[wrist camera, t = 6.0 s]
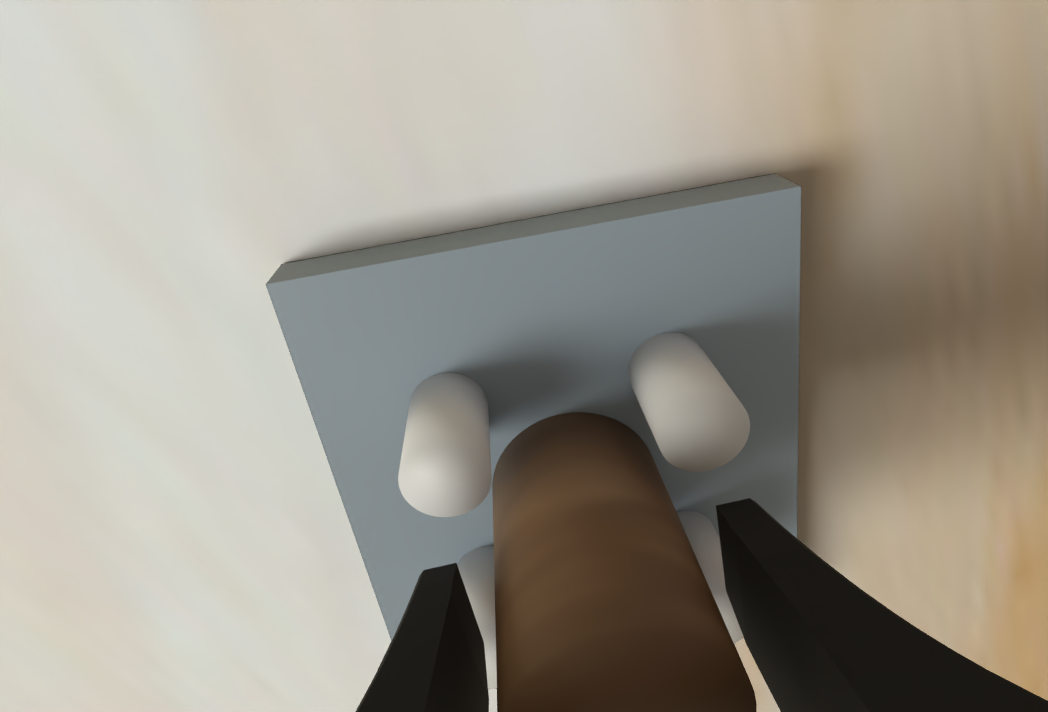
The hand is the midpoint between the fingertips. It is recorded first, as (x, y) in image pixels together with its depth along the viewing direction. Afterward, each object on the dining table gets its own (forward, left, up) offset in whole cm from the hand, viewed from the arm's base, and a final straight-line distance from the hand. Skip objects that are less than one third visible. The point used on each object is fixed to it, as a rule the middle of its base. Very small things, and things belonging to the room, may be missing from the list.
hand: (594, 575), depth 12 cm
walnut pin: (0, 0, -3) cm, 3 cm away
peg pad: (0, 0, -4) cm, 4 cm away
